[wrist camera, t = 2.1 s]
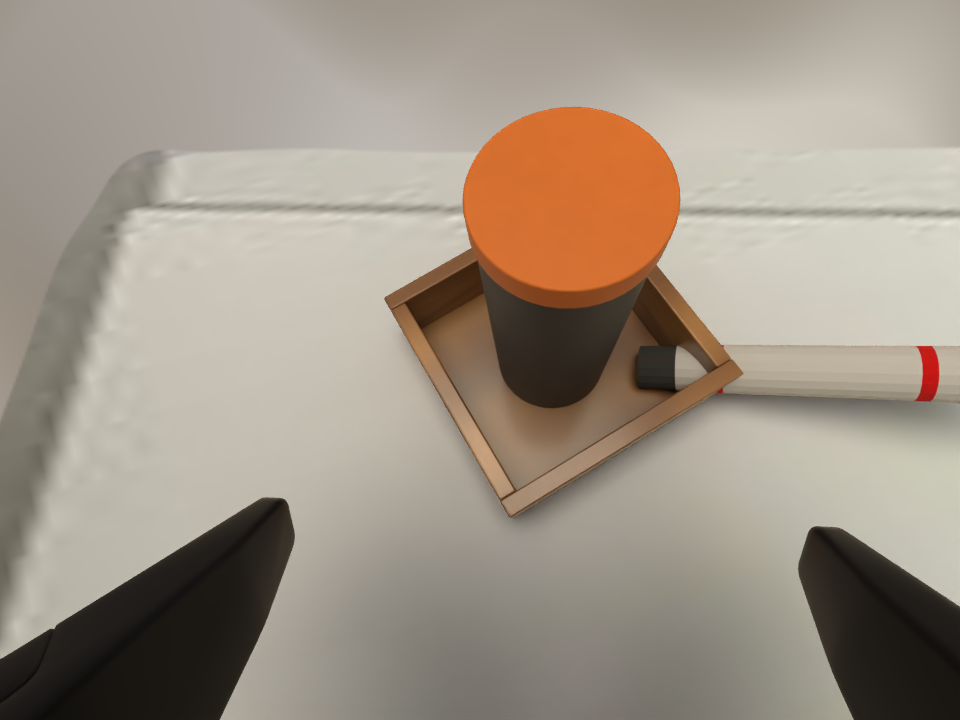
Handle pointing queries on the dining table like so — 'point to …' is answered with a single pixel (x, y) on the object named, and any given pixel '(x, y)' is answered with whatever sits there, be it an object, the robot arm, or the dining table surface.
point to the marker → (817, 371)
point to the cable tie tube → (566, 242)
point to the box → (537, 430)
